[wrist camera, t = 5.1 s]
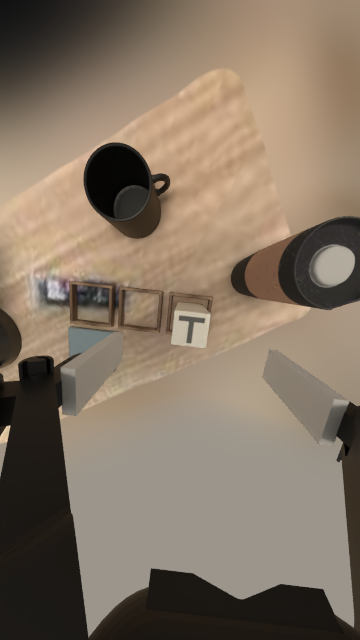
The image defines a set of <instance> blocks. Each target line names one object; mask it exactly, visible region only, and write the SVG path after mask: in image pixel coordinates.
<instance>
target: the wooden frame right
mask: <svg viewBox="0 0 360 640" xmlns="http://www.w3.org/2000/svg"><path fill="white" fill-rule="evenodd" d="M173 296H182V297H191V298H200V299H208V300H209V302H208V309H207V311H208V312H209V313H211V306H212V300H213V297H208V296H199V295H190V294H182V293H173V292H170V297H169V307H168V318H167V328H166V334H172V331H173V330H169V327H170V317H171V307H172V297H173Z"/></svg>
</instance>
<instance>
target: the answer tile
mask: <svg viewBox="0 0 360 640" xmlns="http://www.w3.org/2000/svg"><path fill="white" fill-rule="evenodd" d="M113 332H115V331H107V330H98V329H89V328H81V327H69V357H71V356H73V355H75V354H78V353H83V352H85V351H86V350H88V349H89V348H91V347H92V346H94V345H95V344H97V343H98V342H100V341H101V340H103V339H104V338H106V337H107V336H109V335H110V334H112V333H113ZM115 370H116V369H115ZM115 370H114V371H115Z"/></svg>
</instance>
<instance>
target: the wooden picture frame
mask: <svg viewBox="0 0 360 640" xmlns="http://www.w3.org/2000/svg"><path fill="white" fill-rule="evenodd" d="M77 285H85V286H94V287H103V288H109V323H105V322H96V321H87V320H79V319H77ZM69 289H70V323H76V324H85V325H93V326H102V327H113V326H114V306H115V286H111V285H102V284H93V283H85V282H76V281H69Z"/></svg>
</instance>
